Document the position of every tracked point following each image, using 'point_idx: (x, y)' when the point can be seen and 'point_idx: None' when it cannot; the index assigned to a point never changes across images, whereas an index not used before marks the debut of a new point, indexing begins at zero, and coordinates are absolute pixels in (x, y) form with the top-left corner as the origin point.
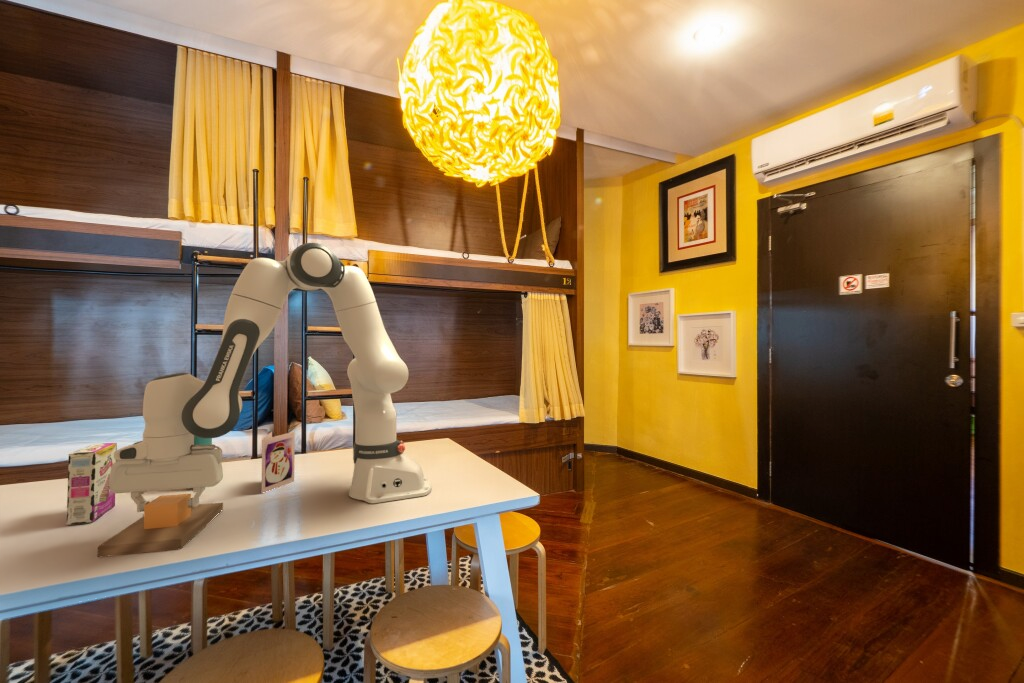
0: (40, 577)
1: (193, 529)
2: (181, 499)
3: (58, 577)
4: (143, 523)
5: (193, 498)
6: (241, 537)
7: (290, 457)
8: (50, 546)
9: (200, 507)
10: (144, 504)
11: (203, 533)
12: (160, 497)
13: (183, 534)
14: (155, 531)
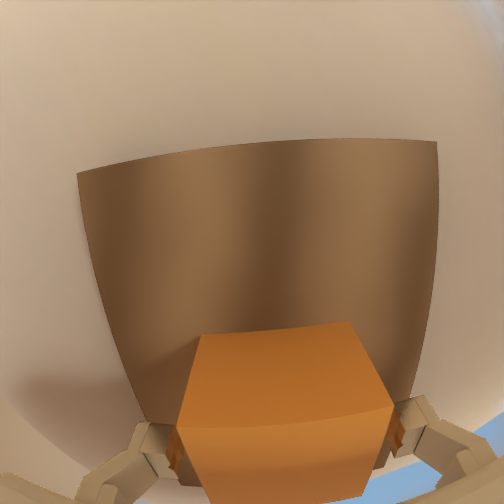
0: (152, 492)
1: None
2: (367, 473)
3: (186, 499)
4: (173, 383)
5: (423, 456)
6: (489, 388)
7: None
8: (15, 376)
9: (350, 203)
10: (177, 477)
11: None
12: (208, 452)
13: (382, 453)
14: None
